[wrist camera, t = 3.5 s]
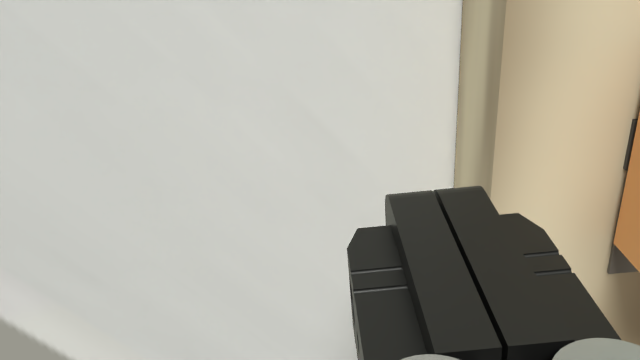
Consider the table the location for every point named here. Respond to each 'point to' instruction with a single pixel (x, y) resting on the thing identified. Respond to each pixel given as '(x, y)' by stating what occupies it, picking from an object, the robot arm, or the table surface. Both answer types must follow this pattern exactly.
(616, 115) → the fader console
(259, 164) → the table surface
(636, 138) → the fader knob
